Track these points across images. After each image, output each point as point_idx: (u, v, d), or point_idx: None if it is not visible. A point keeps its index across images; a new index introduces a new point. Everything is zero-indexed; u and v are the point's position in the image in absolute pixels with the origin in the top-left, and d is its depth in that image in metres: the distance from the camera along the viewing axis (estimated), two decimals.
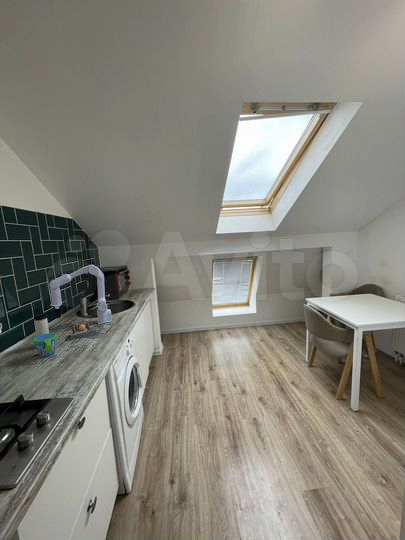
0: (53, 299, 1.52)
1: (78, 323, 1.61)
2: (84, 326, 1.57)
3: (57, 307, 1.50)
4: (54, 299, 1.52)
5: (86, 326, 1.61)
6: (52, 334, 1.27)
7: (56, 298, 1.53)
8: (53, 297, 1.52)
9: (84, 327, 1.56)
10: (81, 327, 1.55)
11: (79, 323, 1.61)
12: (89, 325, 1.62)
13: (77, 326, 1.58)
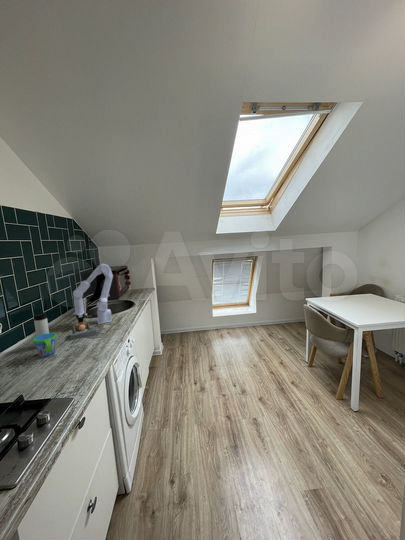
0: (76, 308, 1.60)
1: (78, 324, 1.60)
2: (84, 326, 1.56)
3: (80, 316, 1.57)
4: (78, 308, 1.60)
5: (86, 327, 1.60)
6: (52, 334, 1.27)
7: (79, 307, 1.60)
8: (76, 306, 1.60)
9: (84, 327, 1.56)
10: (81, 327, 1.55)
11: (79, 324, 1.60)
12: (89, 325, 1.62)
13: (77, 327, 1.57)
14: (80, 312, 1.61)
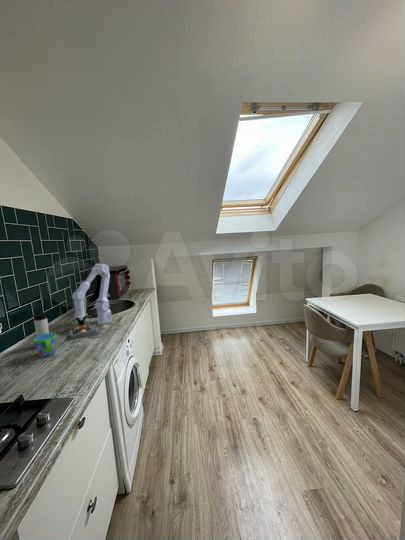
0: (77, 310, 1.54)
1: (79, 327, 1.54)
2: (85, 330, 1.48)
3: (81, 318, 1.52)
4: (78, 311, 1.54)
5: (87, 330, 1.54)
6: (52, 334, 1.27)
7: (80, 309, 1.55)
8: (79, 308, 1.54)
9: (85, 331, 1.47)
10: (82, 330, 1.47)
11: (80, 327, 1.54)
12: (89, 325, 1.62)
13: (78, 330, 1.51)
14: (81, 315, 1.55)
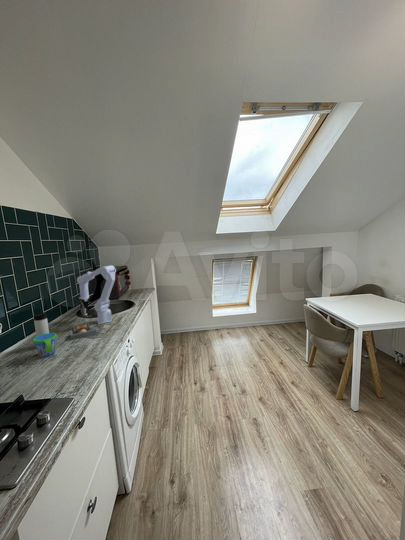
0: (82, 293, 1.72)
1: (79, 327, 1.54)
2: (85, 330, 1.48)
3: (86, 300, 1.69)
4: (83, 293, 1.72)
5: (87, 330, 1.54)
6: (52, 334, 1.27)
7: (84, 292, 1.72)
8: (80, 291, 1.72)
9: (85, 330, 1.48)
10: (82, 330, 1.47)
11: (80, 327, 1.54)
12: (89, 325, 1.62)
13: (78, 330, 1.51)
14: (85, 297, 1.73)
